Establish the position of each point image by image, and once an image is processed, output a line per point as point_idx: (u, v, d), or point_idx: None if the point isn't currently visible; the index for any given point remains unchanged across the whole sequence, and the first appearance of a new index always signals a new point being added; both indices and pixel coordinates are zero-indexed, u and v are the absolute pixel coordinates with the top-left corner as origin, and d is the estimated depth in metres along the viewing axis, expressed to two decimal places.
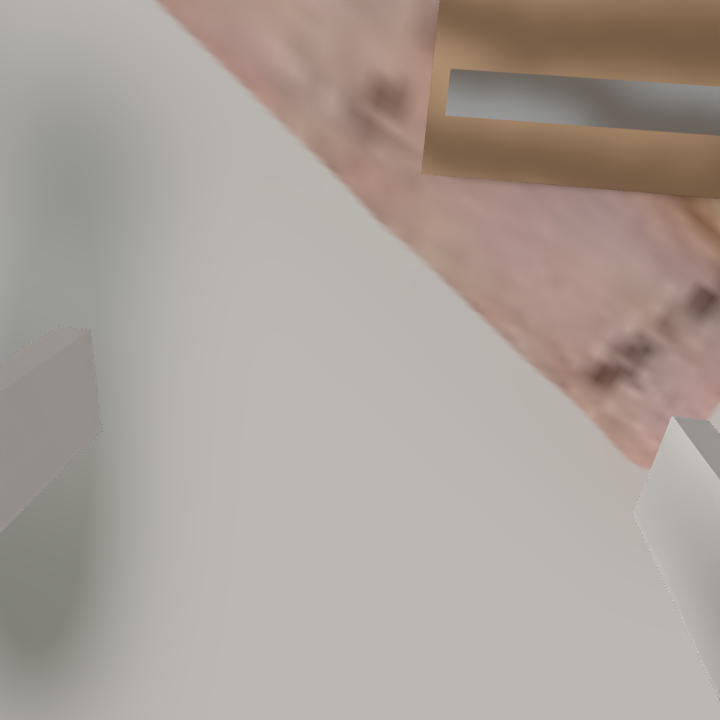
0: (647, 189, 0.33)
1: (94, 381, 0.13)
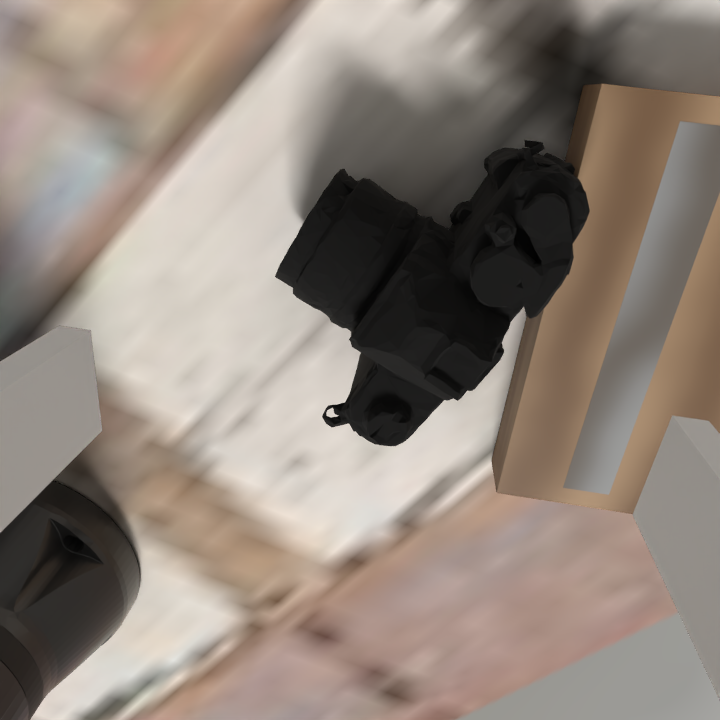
0: None
1: (94, 381, 0.13)
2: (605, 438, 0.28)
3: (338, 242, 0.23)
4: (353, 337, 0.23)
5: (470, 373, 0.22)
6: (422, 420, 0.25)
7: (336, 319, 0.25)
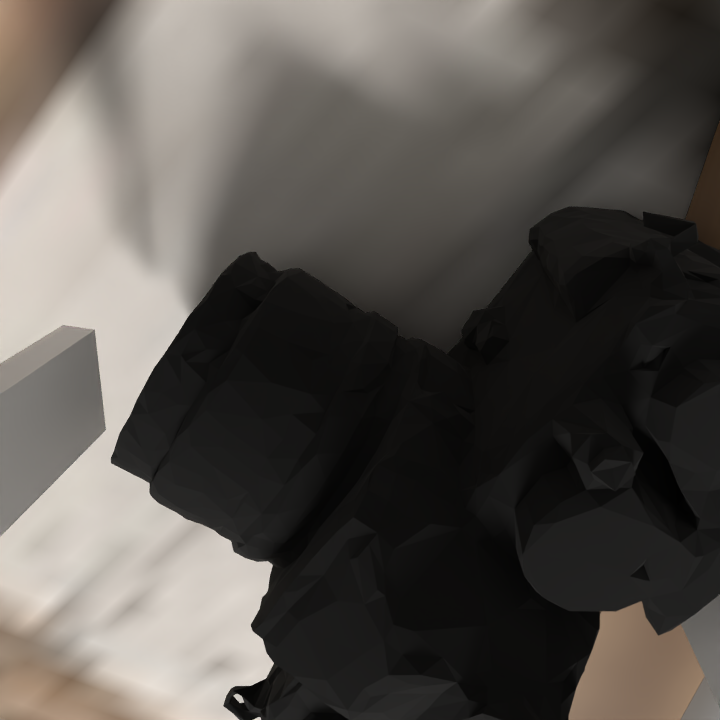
0: None
1: (98, 381, 0.13)
2: None
3: (219, 431, 0.10)
4: (256, 631, 0.11)
5: None
6: None
7: None
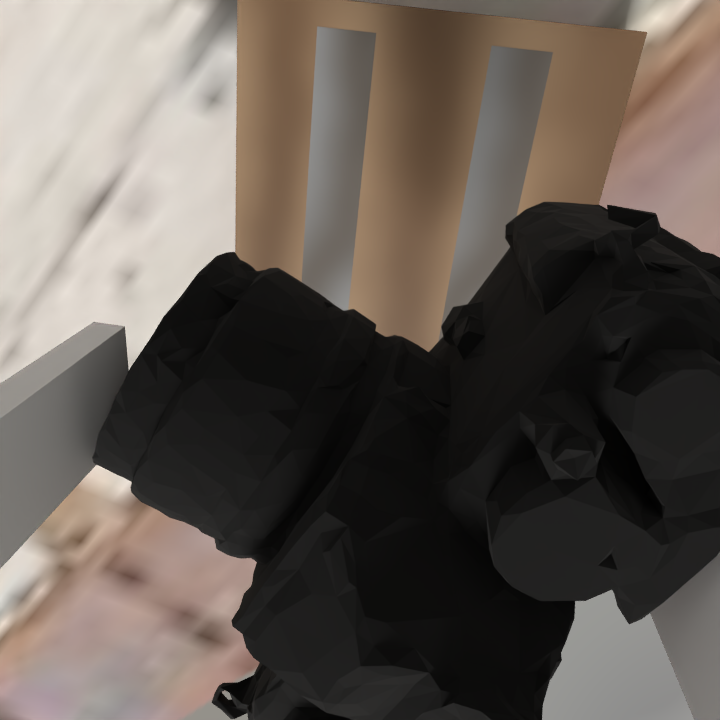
0: None
1: None
2: None
3: (195, 428, 0.10)
4: (236, 626, 0.11)
5: None
6: None
7: (219, 549, 0.13)
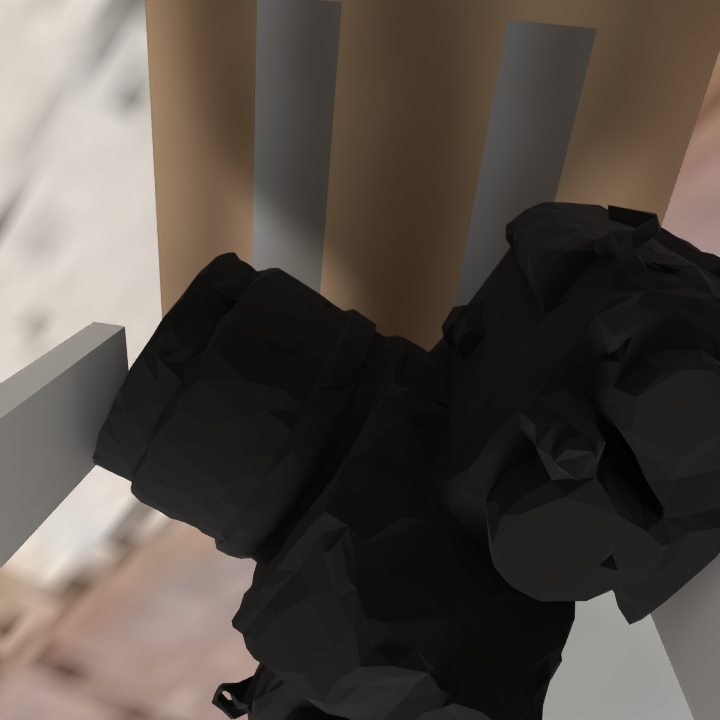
0: None
1: None
2: None
3: (196, 428, 0.10)
4: (236, 626, 0.11)
5: None
6: None
7: (219, 549, 0.13)
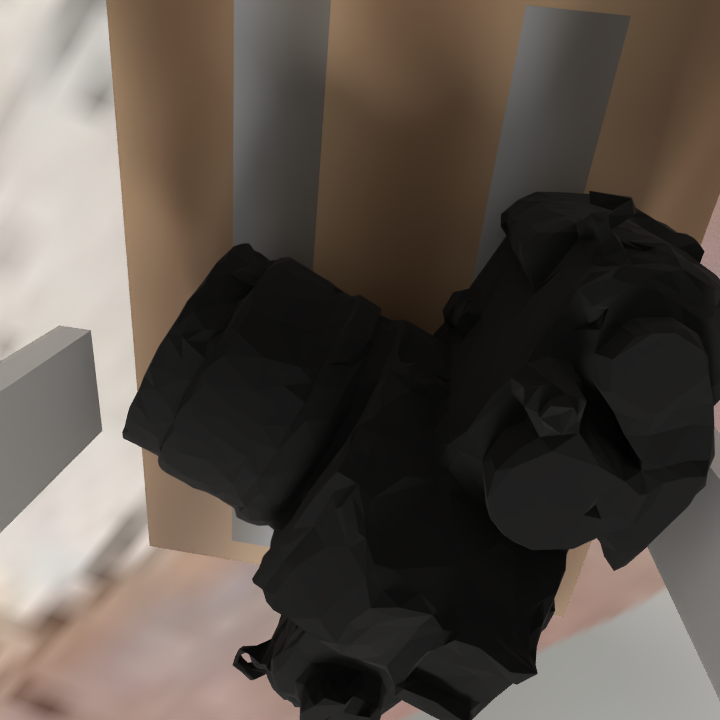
0: None
1: (94, 381, 0.13)
2: None
3: (218, 401, 0.11)
4: (257, 582, 0.12)
5: (490, 681, 0.10)
6: None
7: (239, 518, 0.14)
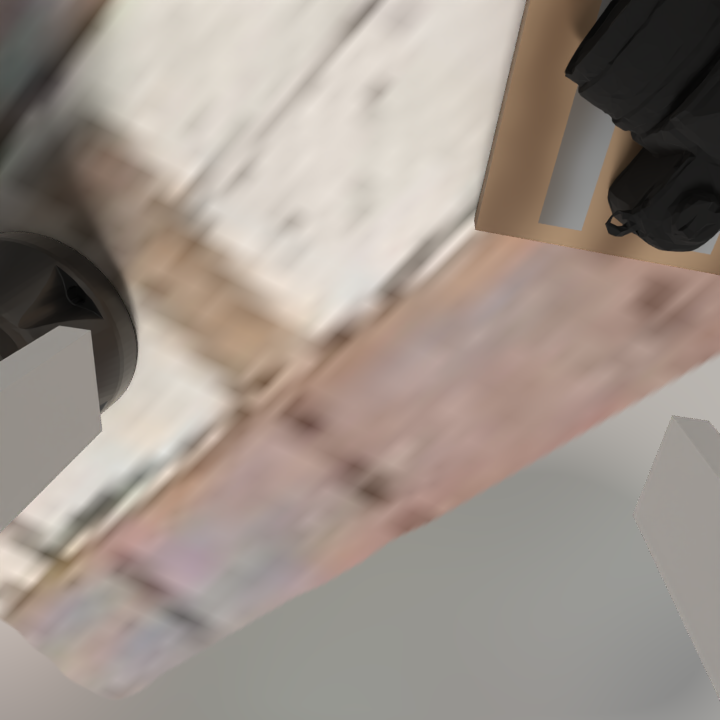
0: None
1: (94, 381, 0.13)
2: (580, 165, 0.30)
3: (678, 6, 0.22)
4: (686, 109, 0.22)
5: None
6: None
7: (644, 108, 0.24)
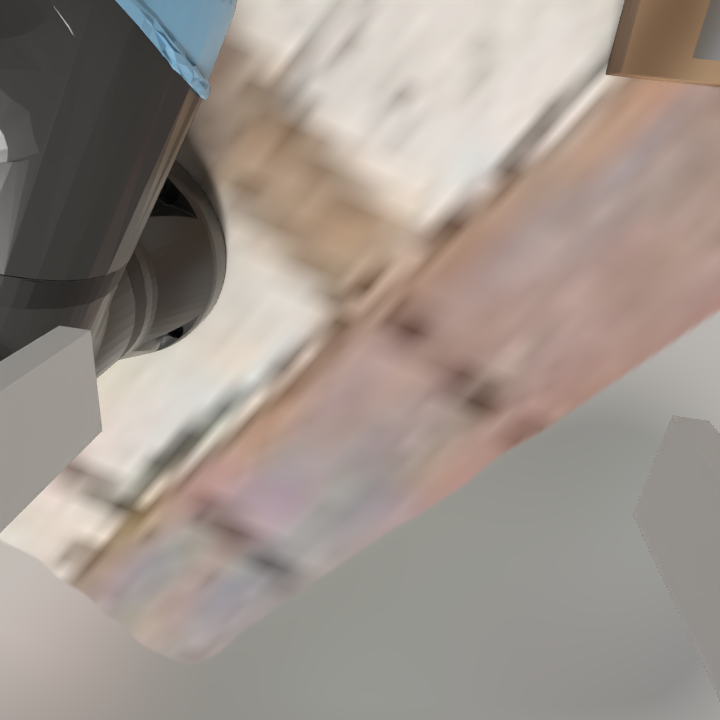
0: None
1: (94, 381, 0.13)
2: None
3: None
4: None
5: None
6: None
7: None
